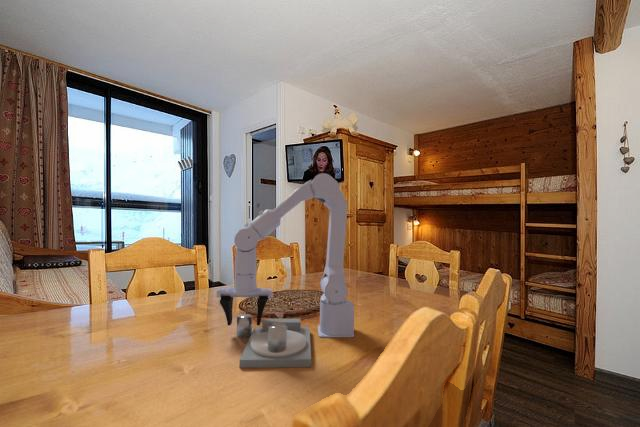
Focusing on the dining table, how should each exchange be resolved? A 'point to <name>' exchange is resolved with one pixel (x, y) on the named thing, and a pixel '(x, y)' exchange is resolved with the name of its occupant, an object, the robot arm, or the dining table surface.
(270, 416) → the dining table surface
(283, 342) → the cylinder
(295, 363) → the scale
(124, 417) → the dining table surface
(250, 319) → the cylinder
